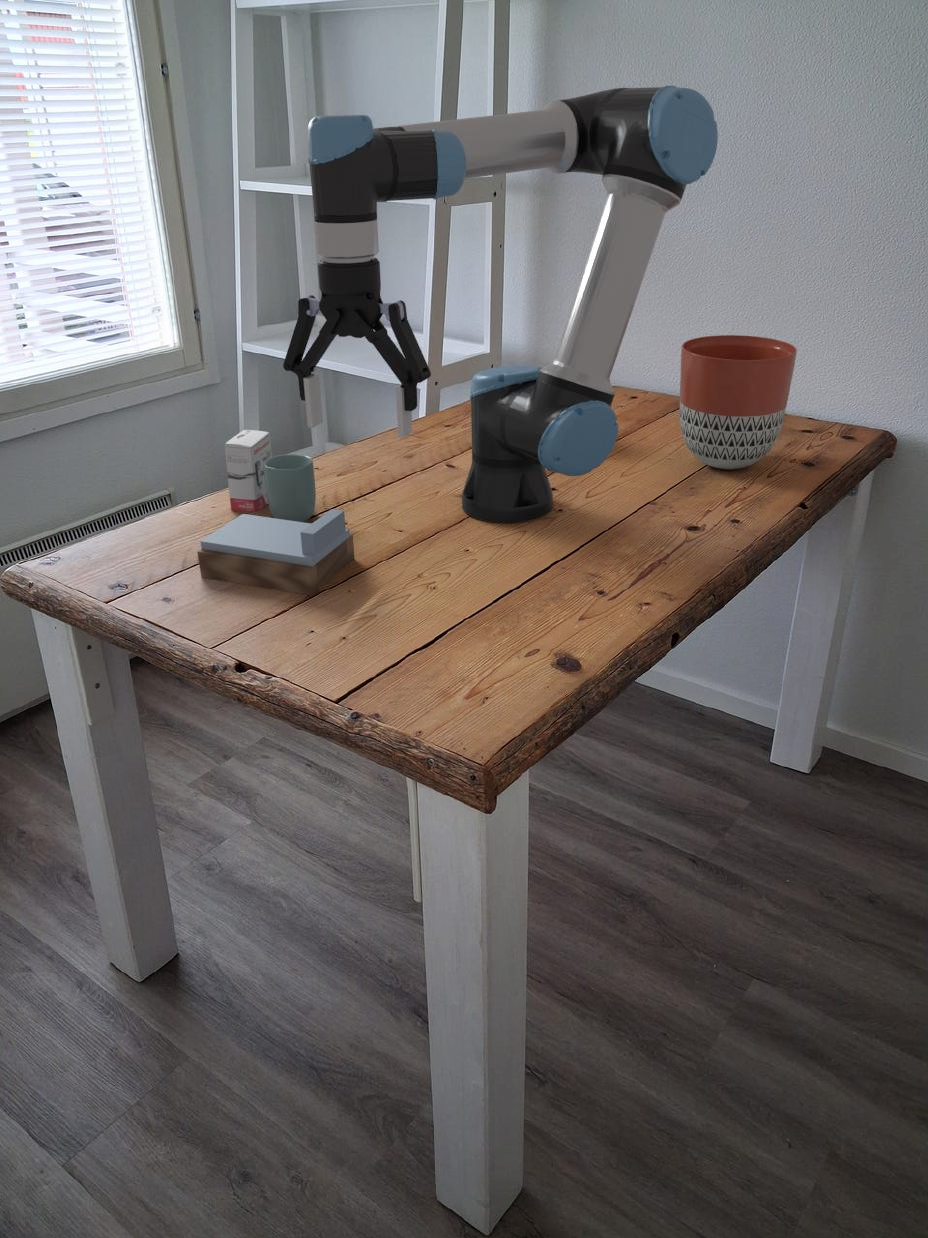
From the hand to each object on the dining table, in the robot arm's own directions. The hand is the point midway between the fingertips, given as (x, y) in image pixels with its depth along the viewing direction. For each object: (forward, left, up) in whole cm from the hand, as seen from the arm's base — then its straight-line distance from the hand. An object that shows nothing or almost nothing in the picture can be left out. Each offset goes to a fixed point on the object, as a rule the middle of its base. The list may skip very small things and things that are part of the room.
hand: (359, 429), depth 131 cm
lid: (+15, 0, -18) cm, 23 cm away
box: (+15, 0, -23) cm, 27 cm away
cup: (+23, -18, -23) cm, 37 cm away
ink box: (+33, -22, -23) cm, 46 cm away
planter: (-39, -68, -23) cm, 82 cm away
